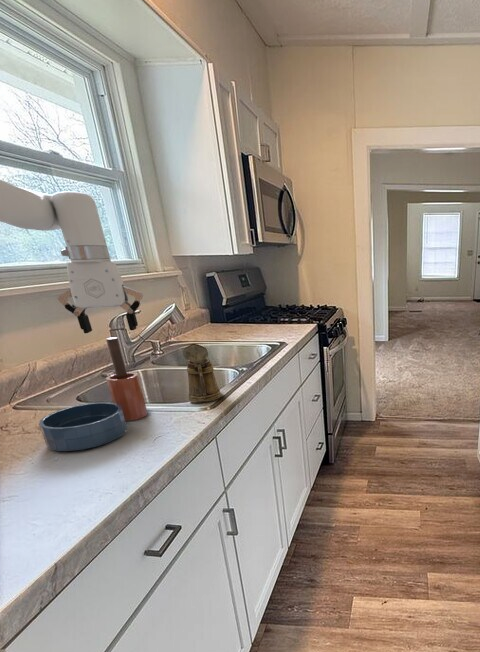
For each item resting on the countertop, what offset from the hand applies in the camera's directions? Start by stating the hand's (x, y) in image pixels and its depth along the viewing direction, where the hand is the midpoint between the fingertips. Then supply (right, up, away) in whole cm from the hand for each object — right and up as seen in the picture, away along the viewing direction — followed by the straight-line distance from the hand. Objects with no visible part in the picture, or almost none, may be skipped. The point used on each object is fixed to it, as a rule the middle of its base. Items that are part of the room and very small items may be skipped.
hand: (111, 330), depth 97 cm
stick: (0, -20, +8) cm, 22 cm away
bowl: (-3, -26, -3) cm, 26 cm away
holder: (0, -21, +9) cm, 22 cm away
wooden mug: (+14, -16, +19) cm, 29 cm away
